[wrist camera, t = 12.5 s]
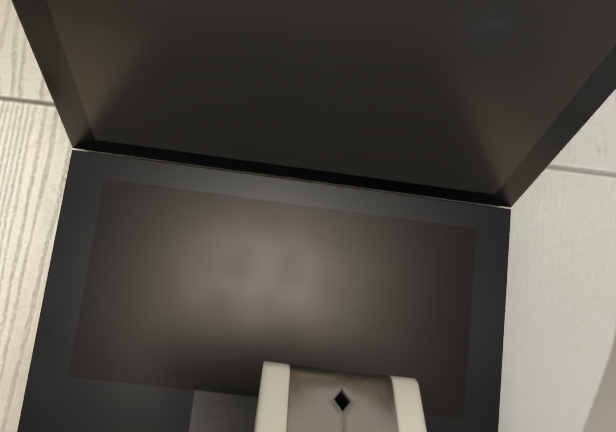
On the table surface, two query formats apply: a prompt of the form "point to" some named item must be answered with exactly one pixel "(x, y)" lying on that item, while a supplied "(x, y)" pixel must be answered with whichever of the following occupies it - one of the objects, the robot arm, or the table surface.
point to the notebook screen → (332, 85)
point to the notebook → (258, 297)
